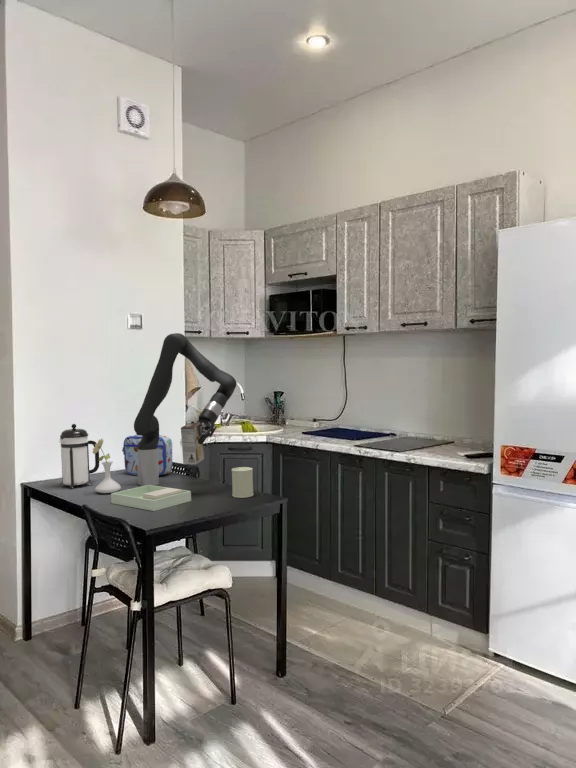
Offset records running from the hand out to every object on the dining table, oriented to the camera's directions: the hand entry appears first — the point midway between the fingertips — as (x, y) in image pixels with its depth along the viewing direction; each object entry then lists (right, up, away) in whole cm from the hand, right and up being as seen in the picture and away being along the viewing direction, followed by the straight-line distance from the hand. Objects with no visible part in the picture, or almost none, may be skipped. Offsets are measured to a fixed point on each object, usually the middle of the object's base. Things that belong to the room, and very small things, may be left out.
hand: (192, 442), depth 269 cm
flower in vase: (-41, -24, +14) cm, 50 cm away
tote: (-15, -24, -12) cm, 31 cm away
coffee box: (0, -8, 0) cm, 9 cm away
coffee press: (-60, -24, +32) cm, 72 cm away
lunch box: (-32, -22, +56) cm, 68 cm away
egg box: (-10, -23, -16) cm, 30 cm away
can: (+22, -23, +1) cm, 32 cm away
